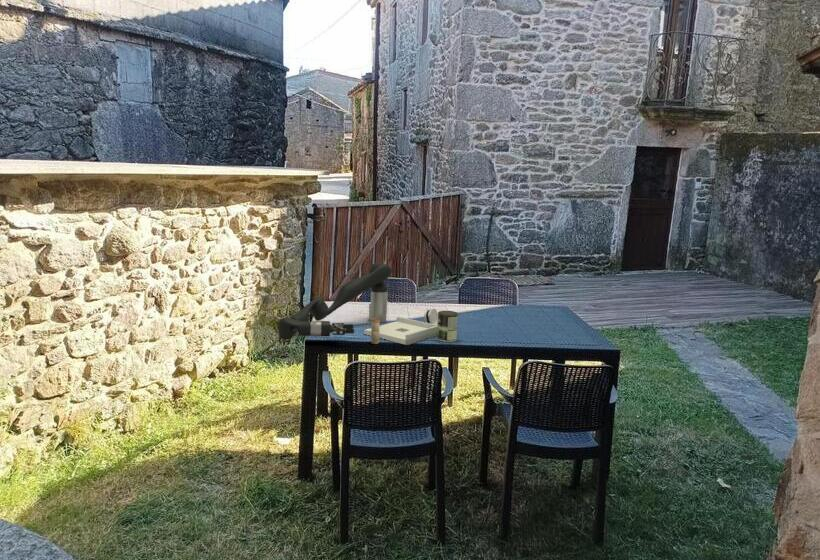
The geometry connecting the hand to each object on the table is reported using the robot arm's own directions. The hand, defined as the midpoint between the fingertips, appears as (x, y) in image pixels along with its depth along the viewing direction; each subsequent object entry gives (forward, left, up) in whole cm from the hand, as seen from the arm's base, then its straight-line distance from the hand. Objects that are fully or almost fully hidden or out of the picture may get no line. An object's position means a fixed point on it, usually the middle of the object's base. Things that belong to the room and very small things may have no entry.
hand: (353, 329), depth 311 cm
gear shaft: (+7, +8, -7) cm, 13 cm away
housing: (+7, +30, -7) cm, 31 cm away
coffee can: (+29, +39, -7) cm, 49 cm away
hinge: (+6, +59, -7) cm, 60 cm away
